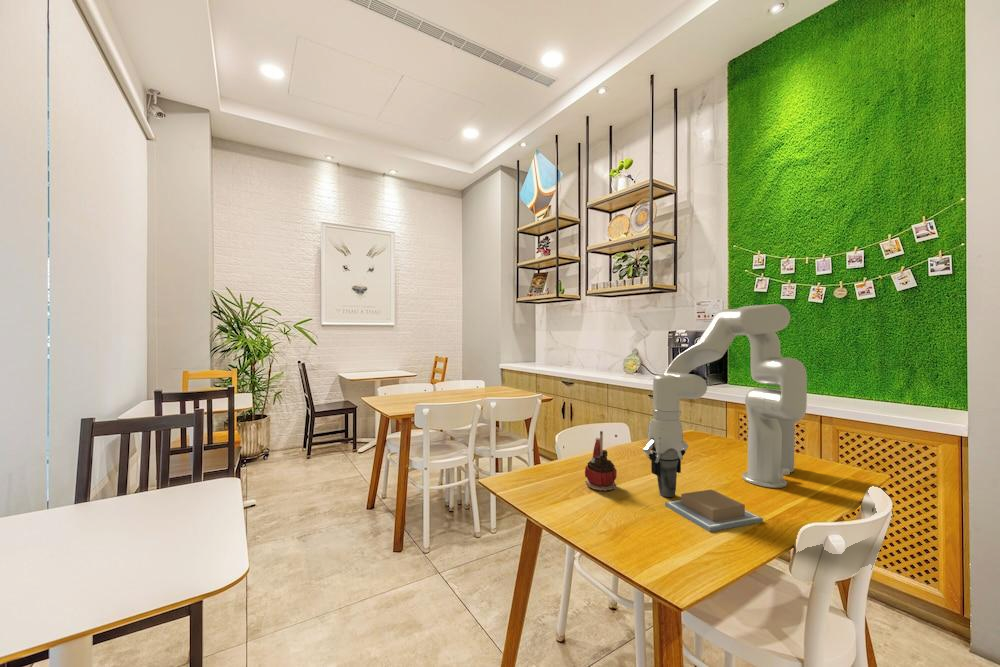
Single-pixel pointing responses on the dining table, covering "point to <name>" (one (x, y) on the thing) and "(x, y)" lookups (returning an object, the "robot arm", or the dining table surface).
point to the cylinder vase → (787, 444)
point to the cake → (600, 468)
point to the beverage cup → (668, 473)
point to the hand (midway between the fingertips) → (666, 472)
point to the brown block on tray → (713, 510)
